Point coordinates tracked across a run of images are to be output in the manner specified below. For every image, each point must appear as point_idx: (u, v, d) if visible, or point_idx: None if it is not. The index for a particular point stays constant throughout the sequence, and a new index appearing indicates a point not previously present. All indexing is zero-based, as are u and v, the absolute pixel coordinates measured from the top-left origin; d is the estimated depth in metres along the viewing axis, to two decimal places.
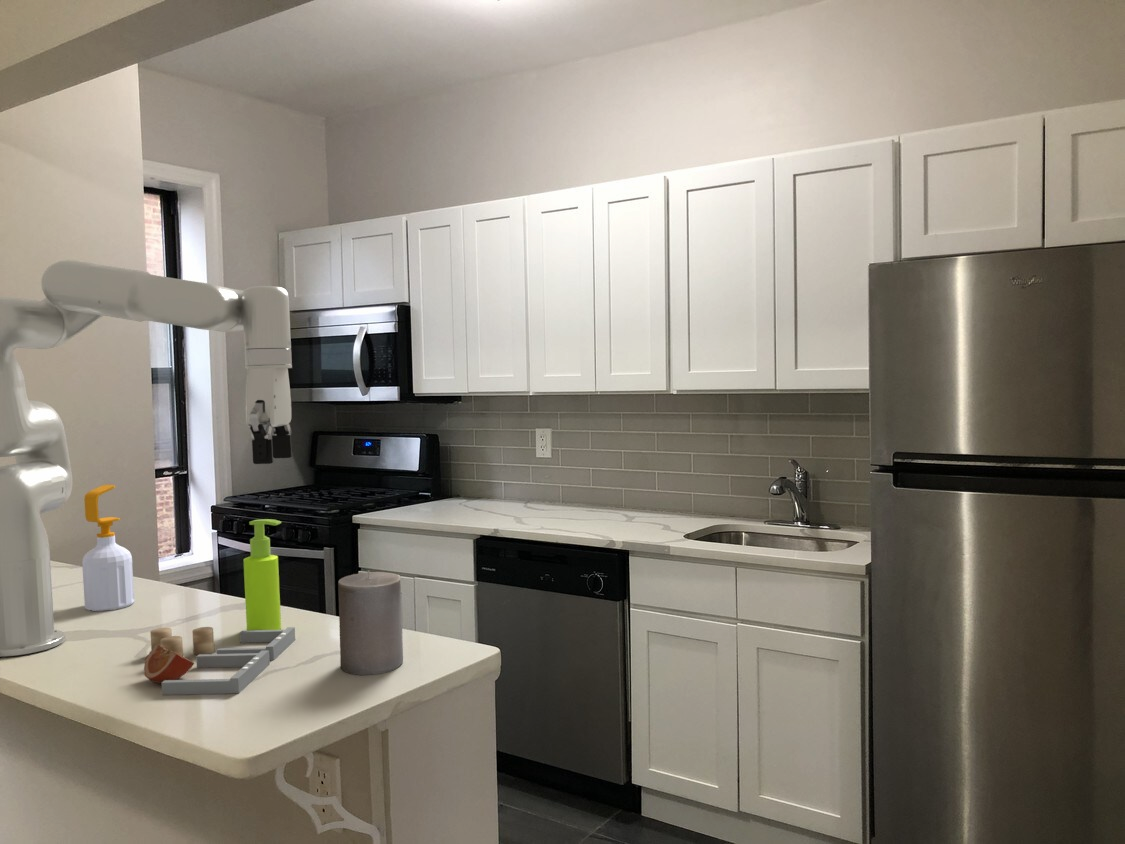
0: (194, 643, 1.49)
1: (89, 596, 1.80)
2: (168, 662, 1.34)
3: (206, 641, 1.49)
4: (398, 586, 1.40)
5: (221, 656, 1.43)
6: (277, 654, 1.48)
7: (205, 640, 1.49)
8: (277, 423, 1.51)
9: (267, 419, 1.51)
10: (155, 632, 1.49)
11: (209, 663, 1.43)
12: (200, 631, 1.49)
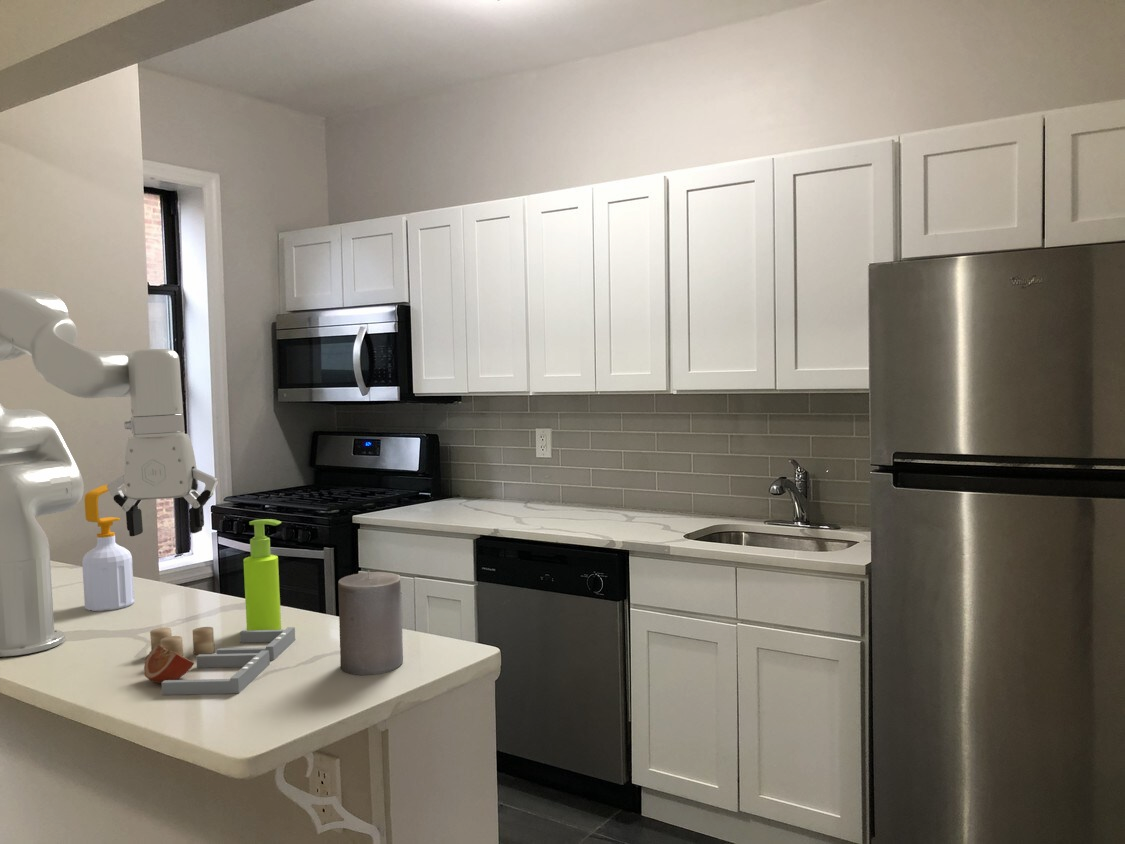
0: (194, 643, 1.49)
1: (89, 596, 1.80)
2: (168, 662, 1.34)
3: (207, 641, 1.49)
4: (398, 586, 1.40)
5: (221, 656, 1.43)
6: (277, 654, 1.48)
7: (205, 640, 1.49)
8: None
9: None
10: (155, 632, 1.49)
11: (209, 663, 1.43)
12: (200, 631, 1.49)
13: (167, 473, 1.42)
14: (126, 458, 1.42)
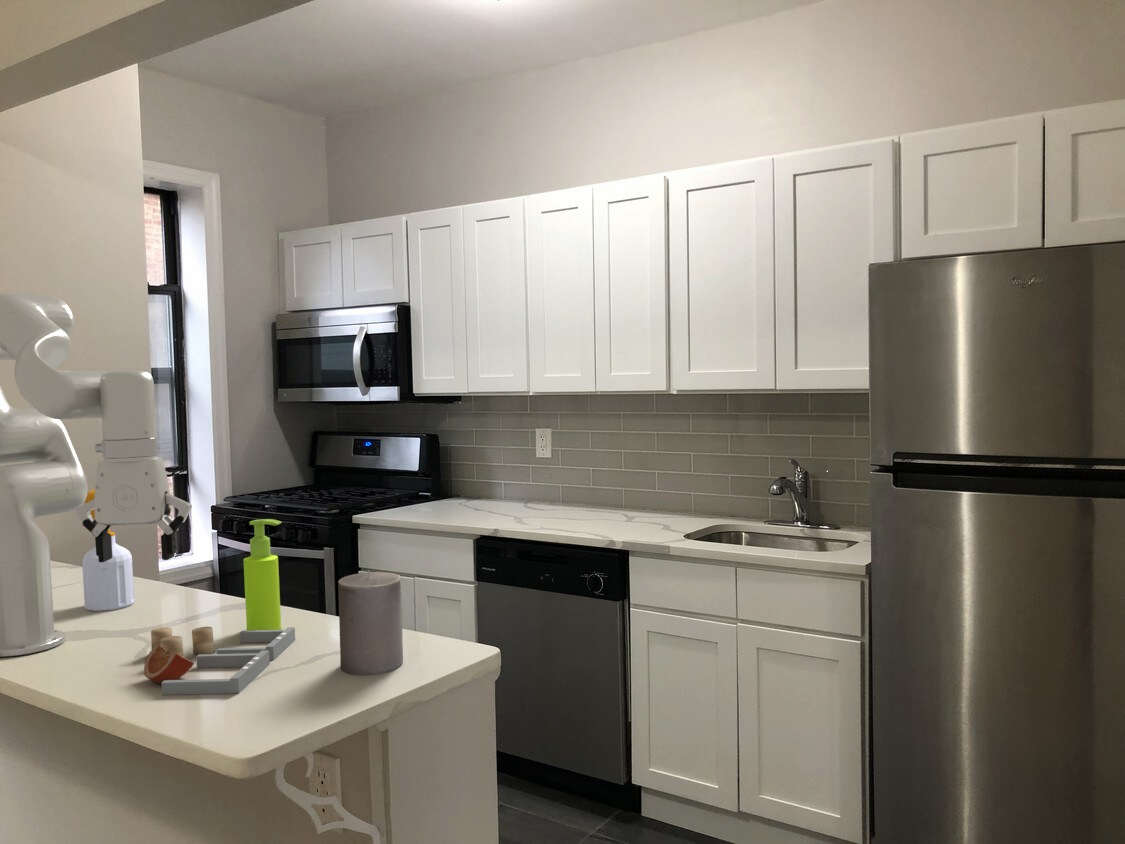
0: (194, 643, 1.49)
1: (89, 596, 1.80)
2: (168, 662, 1.34)
3: (207, 641, 1.49)
4: (398, 586, 1.40)
5: (221, 656, 1.43)
6: (277, 654, 1.48)
7: (205, 640, 1.49)
8: None
9: None
10: (156, 632, 1.49)
11: (209, 663, 1.43)
12: (200, 631, 1.49)
13: (139, 498, 1.38)
14: (96, 482, 1.38)
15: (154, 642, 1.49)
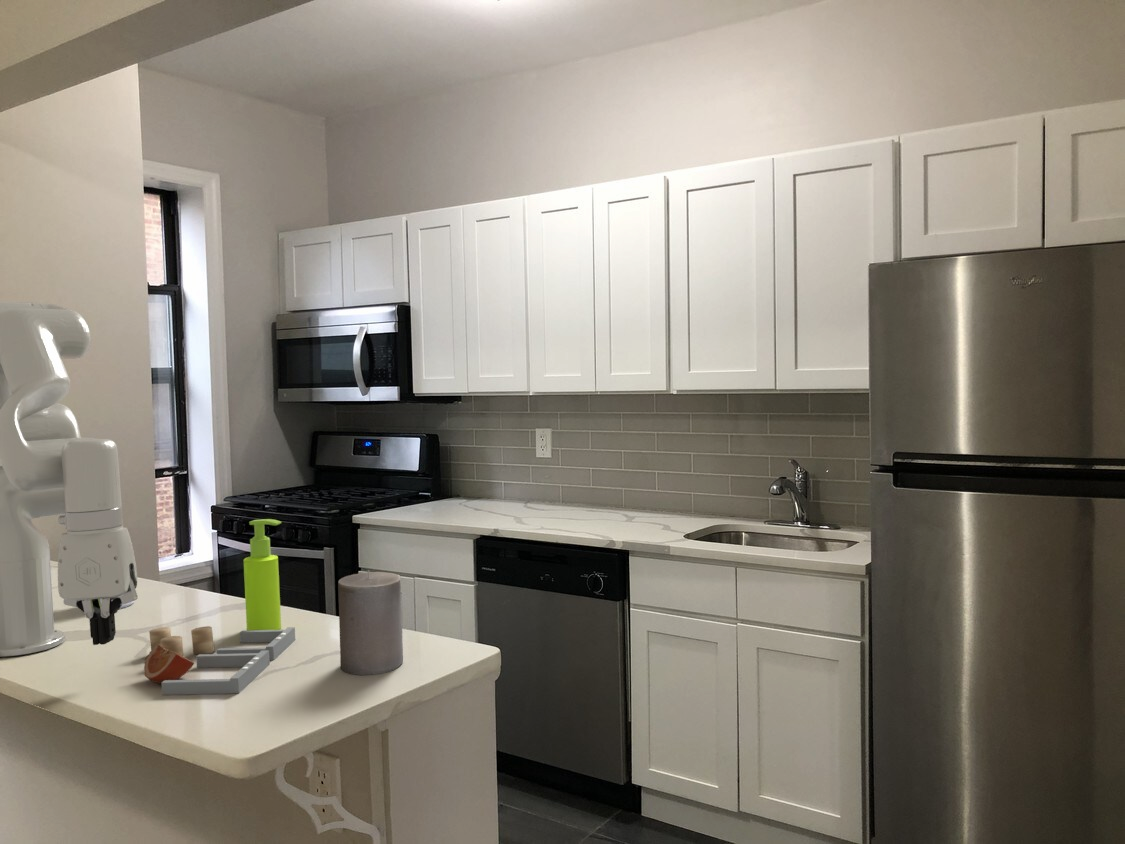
0: (194, 643, 1.49)
1: None
2: (168, 662, 1.34)
3: (207, 640, 1.49)
4: (398, 586, 1.40)
5: (221, 656, 1.43)
6: (277, 654, 1.48)
7: (205, 639, 1.49)
8: None
9: None
10: (155, 631, 1.49)
11: (209, 663, 1.43)
12: (200, 630, 1.49)
13: (102, 572, 1.34)
14: (59, 556, 1.34)
15: (154, 642, 1.49)
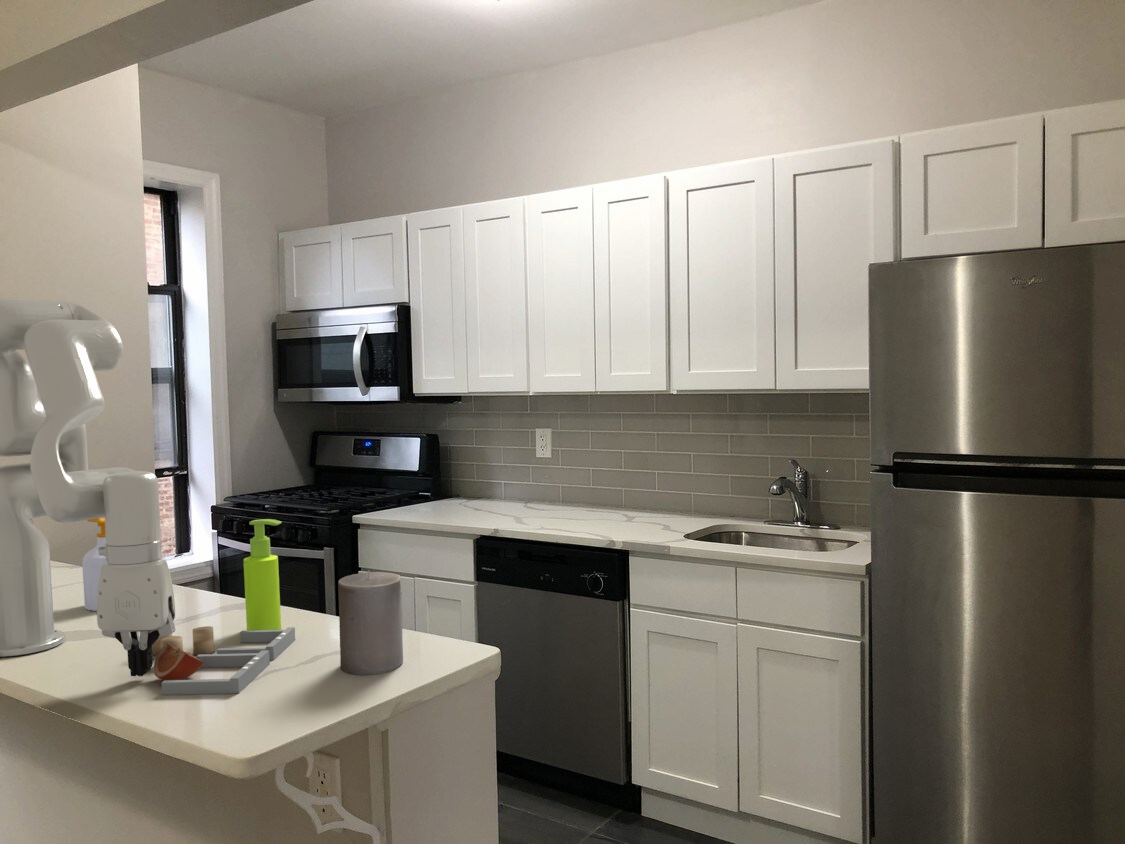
0: (196, 642, 1.49)
1: (89, 596, 1.80)
2: (177, 661, 1.34)
3: (210, 639, 1.50)
4: (398, 586, 1.40)
5: (221, 656, 1.43)
6: (277, 654, 1.48)
7: (208, 638, 1.50)
8: None
9: None
10: None
11: (209, 663, 1.43)
12: (203, 629, 1.50)
13: (141, 605, 1.34)
14: (99, 588, 1.34)
15: (157, 640, 1.49)
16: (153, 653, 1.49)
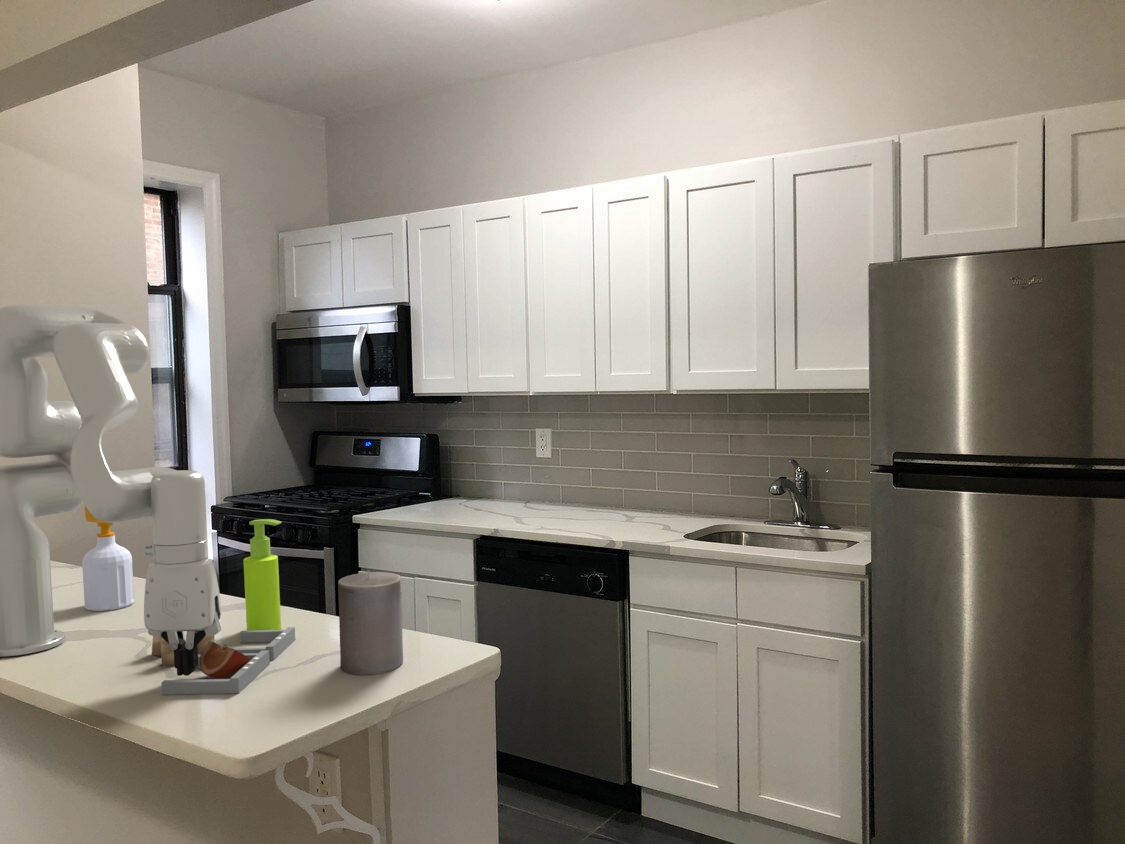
0: (200, 642, 1.49)
1: (89, 596, 1.80)
2: (227, 658, 1.35)
3: (213, 638, 1.50)
4: (398, 586, 1.40)
5: None
6: (277, 654, 1.48)
7: (212, 637, 1.50)
8: None
9: None
10: None
11: None
12: None
13: (189, 605, 1.34)
14: (146, 587, 1.34)
15: None
16: (156, 653, 1.49)
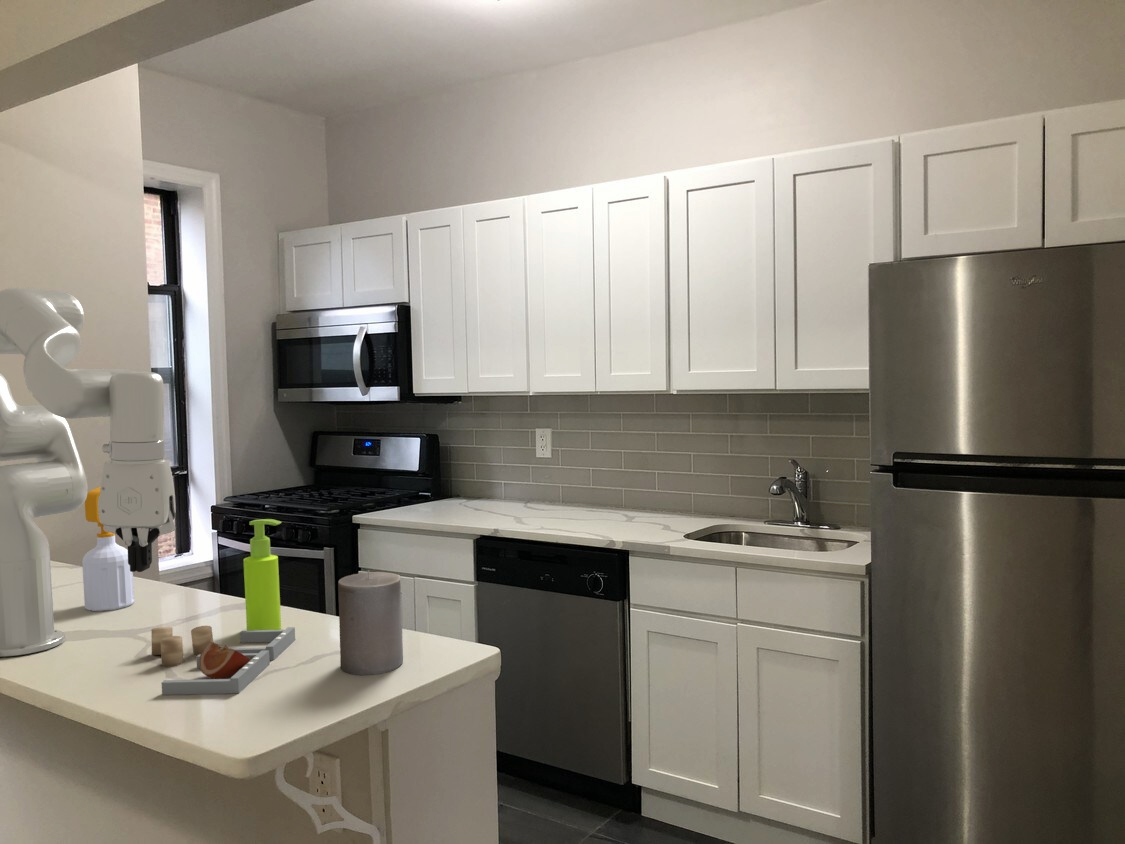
0: (204, 643, 1.49)
1: (89, 596, 1.80)
2: (227, 658, 1.35)
3: (212, 637, 1.51)
4: (398, 586, 1.40)
5: None
6: (277, 654, 1.48)
7: (212, 636, 1.50)
8: None
9: None
10: (166, 628, 1.50)
11: None
12: (206, 629, 1.50)
13: (143, 502, 1.37)
14: (102, 483, 1.37)
15: None
16: None
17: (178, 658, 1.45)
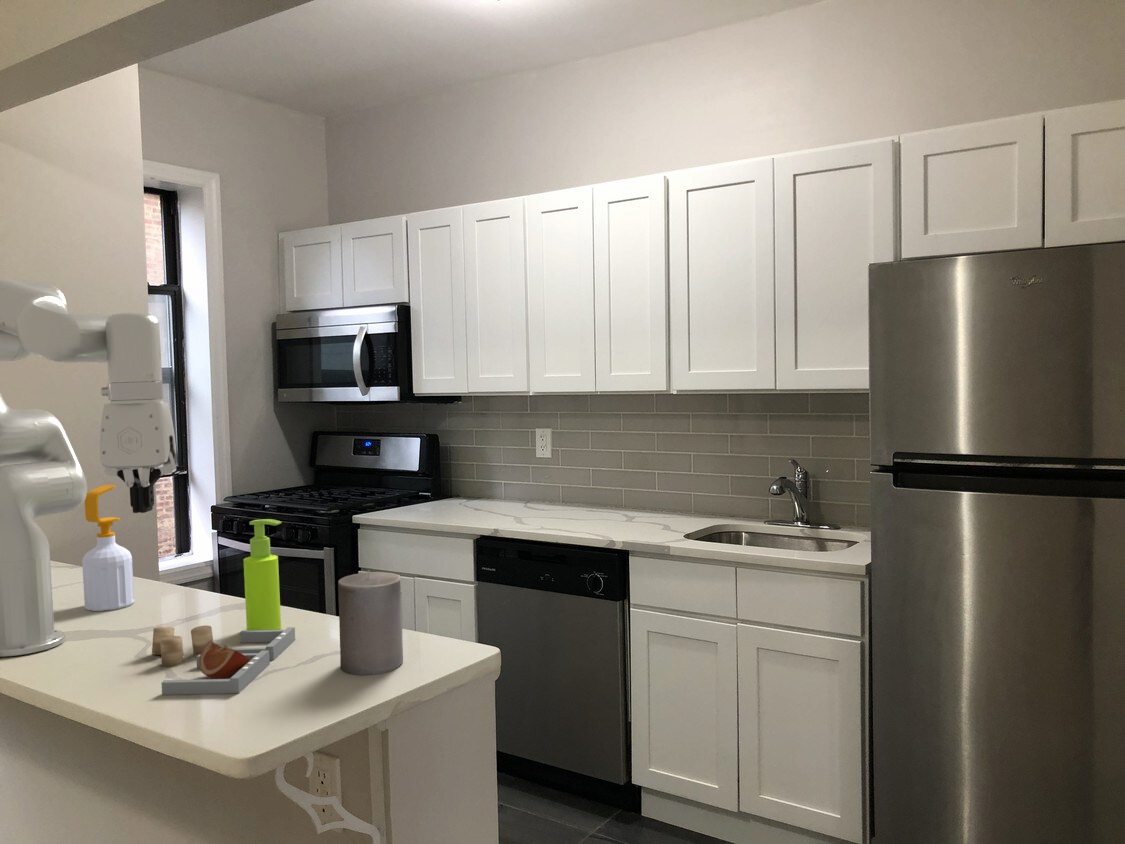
0: None
1: (89, 596, 1.80)
2: (227, 658, 1.35)
3: None
4: (398, 586, 1.40)
5: None
6: (277, 654, 1.48)
7: None
8: None
9: None
10: (171, 628, 1.51)
11: None
12: (207, 628, 1.50)
13: (143, 441, 1.38)
14: (102, 425, 1.38)
15: None
16: None
17: (178, 658, 1.45)
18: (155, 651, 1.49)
